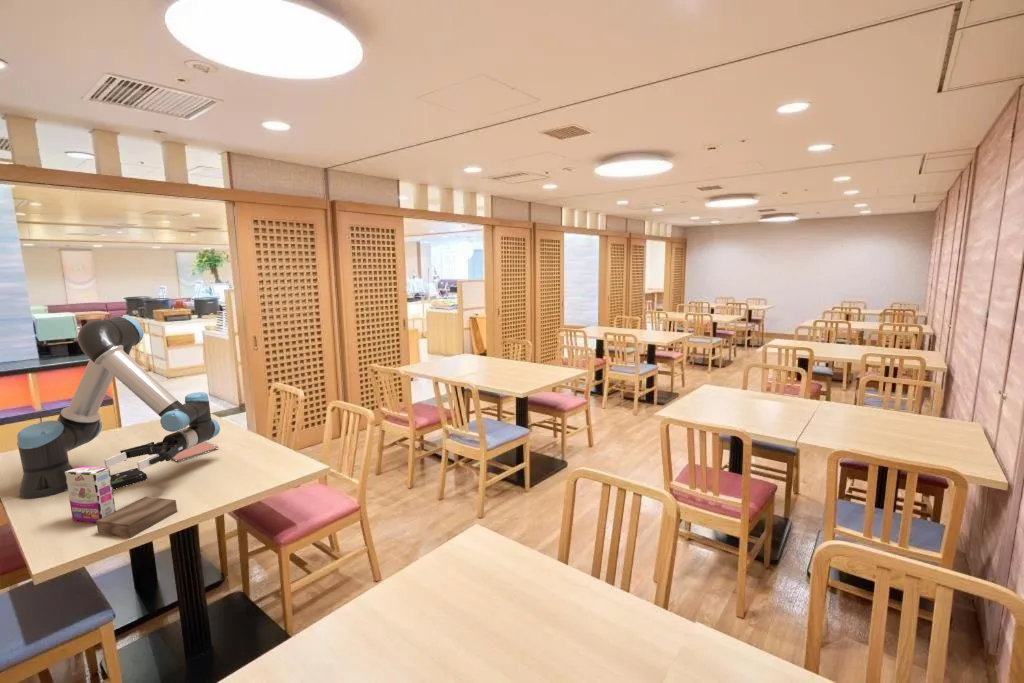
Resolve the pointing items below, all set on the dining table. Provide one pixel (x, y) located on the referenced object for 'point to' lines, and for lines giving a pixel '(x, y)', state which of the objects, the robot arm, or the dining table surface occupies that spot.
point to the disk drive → (127, 478)
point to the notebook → (195, 451)
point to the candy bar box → (90, 493)
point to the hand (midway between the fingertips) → (121, 465)
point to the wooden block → (136, 517)
